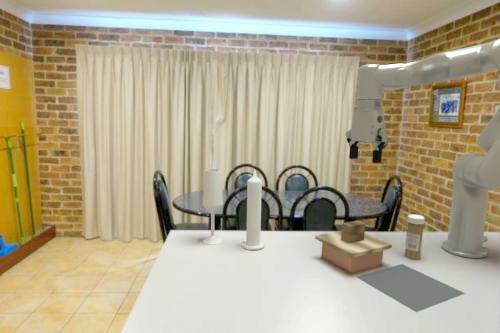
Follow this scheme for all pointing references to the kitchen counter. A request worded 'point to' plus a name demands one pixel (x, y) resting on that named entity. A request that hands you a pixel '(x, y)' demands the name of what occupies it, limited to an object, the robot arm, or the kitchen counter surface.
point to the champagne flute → (212, 200)
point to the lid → (353, 240)
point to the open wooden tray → (351, 259)
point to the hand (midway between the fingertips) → (364, 160)
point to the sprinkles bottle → (414, 237)
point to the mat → (410, 287)
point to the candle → (253, 214)
